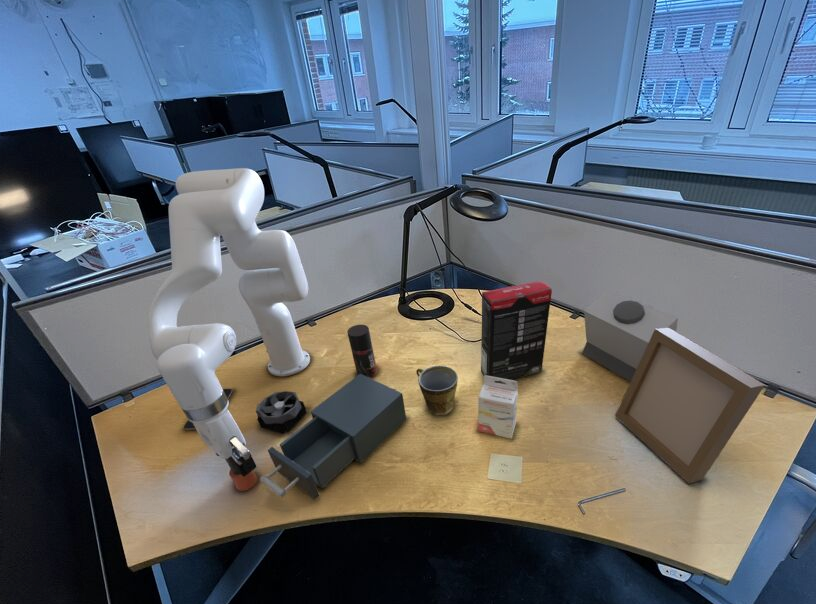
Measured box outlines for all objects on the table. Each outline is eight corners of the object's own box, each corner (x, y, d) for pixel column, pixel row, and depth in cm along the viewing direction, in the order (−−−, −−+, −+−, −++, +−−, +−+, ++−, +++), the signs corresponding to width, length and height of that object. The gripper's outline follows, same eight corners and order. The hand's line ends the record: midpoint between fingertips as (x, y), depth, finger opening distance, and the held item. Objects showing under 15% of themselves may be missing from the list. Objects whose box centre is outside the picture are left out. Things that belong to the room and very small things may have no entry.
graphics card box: (533, 359, 123) (539, 277, 108) (544, 373, 118) (553, 288, 102) (480, 373, 119) (479, 289, 104) (489, 388, 114) (490, 302, 98)
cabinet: (360, 463, 95) (353, 436, 90) (319, 437, 102) (310, 411, 97) (406, 419, 106) (402, 393, 101) (366, 399, 113) (360, 373, 108)
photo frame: (687, 486, 85) (728, 397, 71) (614, 418, 102) (634, 335, 88) (738, 461, 90) (785, 372, 75) (659, 400, 106) (686, 318, 92)
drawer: (296, 517, 84) (286, 496, 79) (258, 486, 90) (247, 465, 86) (367, 451, 97) (361, 429, 93) (329, 428, 103) (322, 407, 99)
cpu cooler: (306, 394, 107) (280, 421, 100) (312, 410, 111) (287, 437, 103) (275, 386, 111) (247, 412, 103) (281, 402, 114) (255, 427, 106)
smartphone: (182, 428, 107) (208, 389, 119) (183, 430, 107) (209, 391, 119) (209, 427, 107) (233, 388, 119) (211, 428, 107) (234, 390, 119)
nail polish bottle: (232, 484, 92) (215, 455, 86) (249, 471, 95) (234, 441, 89) (243, 494, 90) (226, 464, 84) (260, 479, 93) (245, 450, 87)
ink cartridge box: (477, 432, 101) (476, 387, 92) (482, 418, 105) (482, 373, 96) (512, 439, 98) (514, 393, 90) (516, 425, 102) (518, 379, 94)
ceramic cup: (467, 404, 109) (465, 375, 103) (441, 426, 103) (438, 396, 97) (432, 384, 117) (429, 356, 111) (406, 403, 111) (402, 374, 105)
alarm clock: (671, 369, 116) (692, 307, 104) (636, 392, 109) (654, 328, 98) (610, 337, 130) (623, 279, 119) (576, 356, 123) (586, 296, 112)
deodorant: (373, 379, 120) (364, 337, 111) (354, 377, 121) (343, 335, 112) (379, 366, 125) (371, 325, 116) (361, 365, 126) (352, 323, 117)
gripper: (164, 398, 81) (199, 455, 91) (210, 434, 72) (243, 493, 82) (201, 377, 86) (230, 433, 96) (248, 408, 77) (275, 467, 87)
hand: (236, 461), depth 89 cm, fingers open, 9 cm apart
